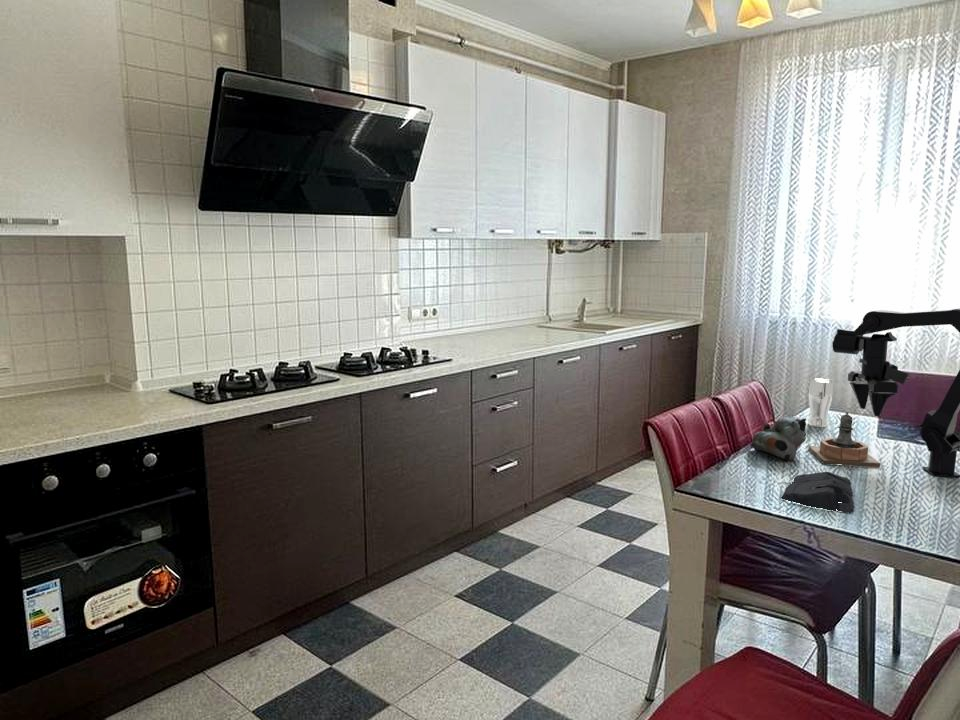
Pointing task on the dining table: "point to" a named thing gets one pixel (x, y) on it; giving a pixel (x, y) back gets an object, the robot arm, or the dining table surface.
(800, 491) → the dark slate chunk
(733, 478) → the dining table surface
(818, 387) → the beer glass
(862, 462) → the collar board
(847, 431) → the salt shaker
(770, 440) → the lucky cat figurine
